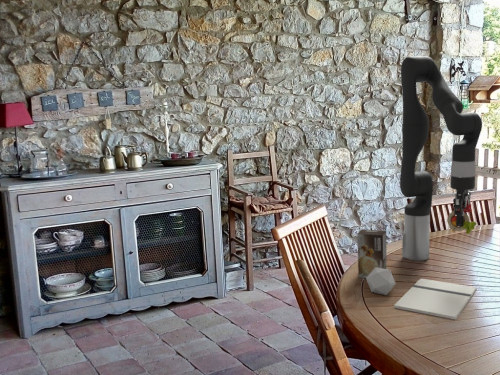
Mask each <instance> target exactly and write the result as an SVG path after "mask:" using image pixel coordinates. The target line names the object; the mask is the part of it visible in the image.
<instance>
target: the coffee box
mask: <svg viewBox="0 0 500 375" xmlns="http://www.w3.org/2000/svg"><path fill="white" fill-rule="evenodd" d="M387 262H388V261H387V230H379V229H378V230H376V229H375V230H374V229H365V228H364V229H363V228H362V229H360V230H359V231H358V233H357V265H358V266H357V273H358V278H362V279H366V278H367V277H368V275H369V274H370V273H371V272H372V271H373V269H374V268H375V267H377V268H383V269H388V266H387V265H388V264H387Z"/></svg>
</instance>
